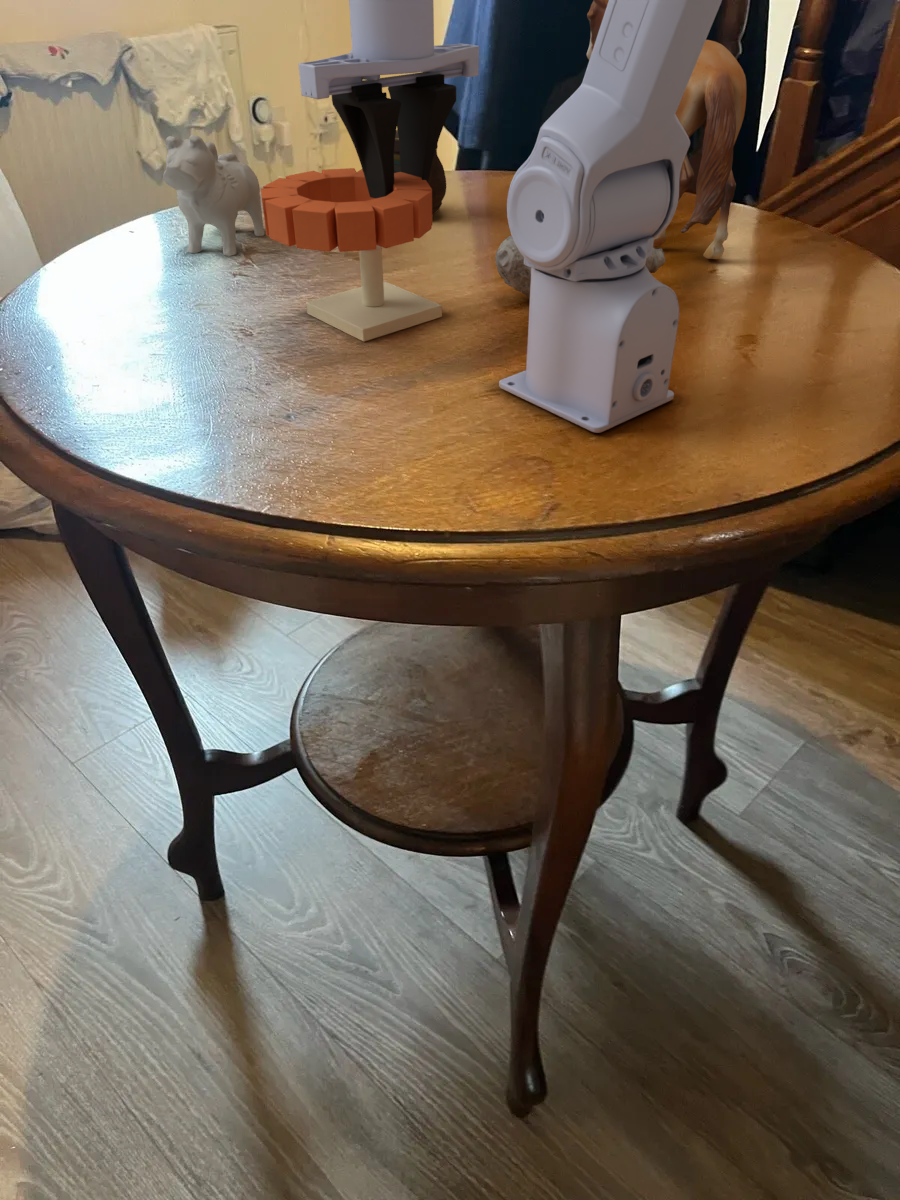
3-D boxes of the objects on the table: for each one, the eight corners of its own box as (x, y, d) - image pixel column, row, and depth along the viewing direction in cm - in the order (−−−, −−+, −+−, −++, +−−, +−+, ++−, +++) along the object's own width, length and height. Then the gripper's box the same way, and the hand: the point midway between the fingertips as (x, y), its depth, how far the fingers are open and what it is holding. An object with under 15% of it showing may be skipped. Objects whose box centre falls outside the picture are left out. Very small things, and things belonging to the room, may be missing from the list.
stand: (442, 316, 74) (441, 248, 70) (363, 342, 70) (358, 270, 66) (383, 291, 79) (380, 226, 75) (306, 313, 75) (299, 245, 71)
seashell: (679, 274, 73) (650, 174, 70) (525, 341, 76) (489, 248, 72) (662, 264, 79) (634, 172, 76) (519, 327, 81) (485, 240, 78)
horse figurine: (568, 198, 102) (583, -21, 90) (632, 194, 104) (656, -23, 91) (681, 290, 78) (723, 10, 66) (762, 283, 80) (819, 6, 67)
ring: (464, 227, 66) (464, 190, 65) (328, 263, 60) (324, 223, 58) (365, 195, 73) (363, 160, 72) (234, 224, 67) (229, 186, 66)
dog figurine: (165, 265, 85) (140, 141, 78) (225, 226, 94) (207, 112, 88) (217, 269, 84) (195, 144, 77) (272, 229, 93) (257, 115, 87)
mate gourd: (366, 213, 98) (360, 110, 92) (422, 201, 102) (420, 102, 95) (403, 228, 93) (399, 121, 87) (461, 215, 97) (461, 112, 91)
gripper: (434, -31, 66) (437, 169, 74) (264, -20, 58) (289, 200, 67) (500, -26, 62) (495, 185, 70) (326, -14, 54) (344, 221, 63)
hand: (398, 194), depth 68 cm, fingers closed on ring, 3 cm apart
